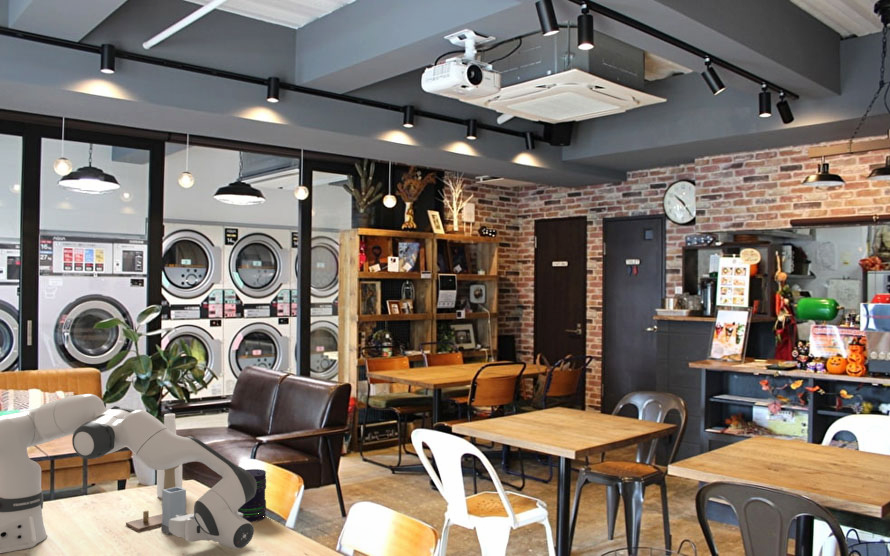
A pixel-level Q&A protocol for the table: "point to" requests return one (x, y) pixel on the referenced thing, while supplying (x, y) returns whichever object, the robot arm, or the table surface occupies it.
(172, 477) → the handle
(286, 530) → the table surface
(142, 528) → the pin board
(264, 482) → the black cylinder
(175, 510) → the sleeve
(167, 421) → the alcohol
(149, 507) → the table surface
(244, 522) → the robot arm
